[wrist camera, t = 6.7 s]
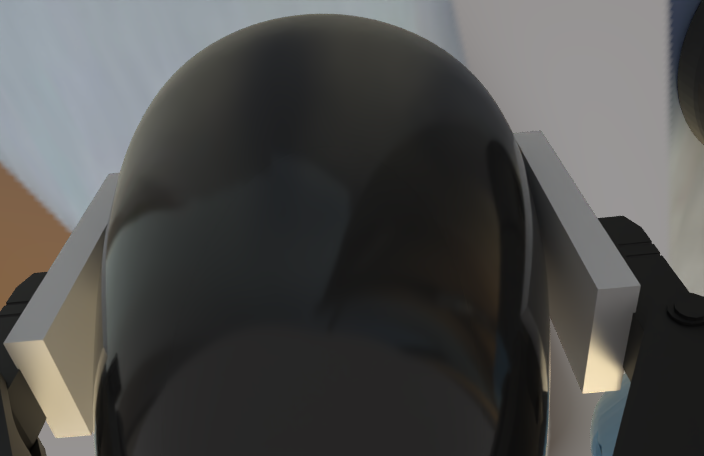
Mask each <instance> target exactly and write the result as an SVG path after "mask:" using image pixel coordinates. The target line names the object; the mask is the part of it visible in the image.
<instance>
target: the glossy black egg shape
mask: <svg viewBox="0 0 704 456" xmlns="http://www.w3.org/2000/svg"><path fill="white" fill-rule="evenodd" d="M549 408H550V315H549V296H548V282H547V271H546V263H545V255H544V248H543V242H542V236H541V230H540V225H539V220H538V215H537V211H536V206H535V202H534V197H533V193H532V189H531V185H530V181H529V177H528V174H527V170H526V167H525V163H524V160H523V158H522V155H521V152H520V149H519V147H518V144H517V142H516V139H515V137H514V135H513V133H512V131H511V129H510V127H509V125H508V123H507V121H506V119H505V117H504V115H503V114H502V112H501V110H500V109H499V107H498V105H497V104H496V102H495V101H494V99H493V98H492V96H491V95H490V94H489V92H488V91H487V90H486V88H485V87H484V86H483V85H482V84H481V82H480V81H479V80H478V79H477V78H476V77H475V76H474V75H473V74H472V73H471V72H470V71H469V70H468V69H467V68H466V67H465V66H464V65H463V64H461V63H460V62H459V61H458V60H457V59H455V58H454V57H453V56H452V55H450V54H449V53H447V52H446V51H445V50H443V49H442V48H440V47H438V46H437V45H435V44H434V43H432V42H430V41H428V40H427V39H425V38H423V37H421V36H419V35H417V34H414V33H412V32H410V31H407V30H405V29H402V28H400V27H397V26H394V25H391V24H388V23H385V22H381V21H377V20H373V19H369V18H364V17H358V16H351V15H342V14H305V15H295V16H288V17H282V18H277V19H272V20H268V21H264V22H261V23H258V24H254V25H251V26H249V27H246V28H243V29H241V30H238V31H236V32H234V33H231V34H229V35H227V36H225V37H223V38H221V39H220V40H218V41H216V42H214V43H212V44H211V45H209V46H208V47H206V48H204V49H203V50H202V51H200V52H199V53H197V54H196V55H195V56H193V57H192V58H191V59H190V60H188V61H187V62H186V63H185V64H184V65H183V66H182V67H180V68H179V69H178V70H177V71H176V72H175V73H174V74H173V75H172V77H171V78H170V79H169V80H168V81H167V82H166V83H165V85H164V86H163V87H162V88H161V90H160V91H159V92H158V94H157V95H156V96H155V98H154V99H153V101H152V102H151V104H150V105H149V107H148V109H147V110H146V112H145V114H144V115H143V117H142V119H141V121H140V123H139V125H138V127H137V129H136V131H135V133H134V135H133V137H132V139H131V142H130V144H129V147H128V149H127V152H126V155H125V158H124V161H123V164H122V167H121V170H120V174H119V178H118V182H117V185H116V189H115V193H114V197H113V201H112V205H111V210H110V214H109V219H108V223H107V229H106V234H105V239H104V245H103V251H102V257H101V265H100V272H99V281H98V291H97V304H96V320H95V338H94V361H93V433H94V448H95V456H546V450H547V440H548V427H549Z"/></svg>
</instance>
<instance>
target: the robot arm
mask: <svg viewBox="0 0 704 456" xmlns="http://www.w3.org/2000/svg"><path fill="white" fill-rule="evenodd" d="M678 94H679V101H680V106H681V109H682V112H683V115H684V118H685V120H686V122H687V124H688V126H689V128H690V129H691V131H692V132H693V134H694V135H695V136H696V138H697V139H698V140H699V141H700V142H701V143H702V144H703V145H704V0H702V2H701V3H700V5H699V7H698V9H697V11H696V13H695V15H694V17H693V19H692V21H691V24H690V26H689V29H688V31H687V34H686V37H685V40H684V43H683V47H682V51H681V55H680V61H679V67H678ZM513 135H514V137H515V139H516V142H517V144H518V147H519V149H520V152H521V155H522V158H523V160H524V163H525V167H526V170H527V174H528V177H529V181H530V185H531V189H532V193H533V197H534V202H535V206H536V211H537V215H538V220H539V225H540V230H541V236H542V242H543V248H544V255H545V263H546V271H547V282H548V296H549V315H550V318H551V320H552V323H553V325H554V327H555V330H556V332H557V335H558V337H559V339H560V342H561V344H562V346H563V348H564V351H565V353H566V356H567V358H568V360H569V363H570V365H571V367H572V370H573V372H574V375H575V377H576V379H577V382H578V384H579V386H580V389H581V391H582V393H594V392H605V393H604V394H603V395H602V396H601V398H600V400H599V401H598V403H597V405H596V407H595V410H594V413H593V417H592V424H591V432H590V439H591V452H592V456H704V297H703V296H700V295H697V294H694V293H689V291H688V290H687V289H686V287H685V286H684V285H683V283H682V282H681V280H680V279H679V278H678V276H677V275H676V274H675V272H674V271H673V270H672V268H671V267H670V266H669V264H668V263H667V261H666V260H665V259H664V257H663V256H660V252H659V251H658V249H657V248H656V247H655V245H654V244H652V241H651V240H650V238H649V237H648V236H647V234H646V233H645V232H644V230H643V229H642V228H641V227H640V226H638V225H637V224H635V223H634V222H632V221H631V220H629V219H628V218H626V217H624V216H616V217H605V218H597V217H596V215H595V214H594V212H593V211H592V209H591V207H590V206H589V204H588V203H587V201H586V200H585V198H584V197H583V195H582V194H581V192H580V190H579V189H578V187H577V186H576V184H575V183H574V181H573V180H572V178H571V176H570V175H569V174H568V172H567V170H566V169H565V167H564V166H563V164H562V163H561V161H560V159H559V158H558V156H557V155H556V153H555V152H554V150H553V149H552V147H551V145H550V144H549V142H548V141H547V139H546V138H545V136H544V135H543V133H542V131H532V132H522V133H513ZM119 174H120V173H113V174H109V175H108V176H107V178H106V179H105V181H104V183H103V184H102V186H101V187H100V189H99V191H98V192H97V194H96V195H95V197H94V199H93V200H92V202H91V203H90V205H89V207H88V208H87V210H86V211H85V213H84V215H83V216H82V218H81V219H80V221H79V223H78V224H77V226H76V228H75V229H74V231H73V232H72V234H71V236H70V237H69V239H68V240H67V242H66V244H65V245H64V247H63V249H62V250H61V252H60V253H59V255H58V257H57V258H56V260H55V261H54V263H53V264H52V266H51V268H50V269H49V271H48V272H41V273H34V274H32V275H31V276H30V277H29V278H27V279H26V280H25V281H24V282H22V283H21V284H20V285H19V286H18V287H17V288H16V289H15V291H14V292H13V293H12V295H11V296H10V298H9V299H8V301H7V302H6V304H7V305H6V306H4V307H3V308H2V310H1V311H0V456H46V452H45V448H44V446H43V445H42V443H41V441H40V440H39V438H38V435H39V433H40V431H41V429H42V427H43V425H44V423H45V420H46V421H47V423H48V425H49V427H50V428H51V430H52V432H53V434H54V436H55V437H56V438H63V437H74V436H86V435H91V434H92V432H93V361H94V338H95V320H96V304H97V291H98V281H99V272H100V265H101V257H102V251H103V245H104V239H105V234H106V229H107V223H108V219H109V214H110V210H111V205H112V201H113V197H114V193H115V189H116V185H117V182H118V178H119ZM624 371H625V372H626V373H625V374H624V375H623V373H624Z"/></svg>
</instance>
